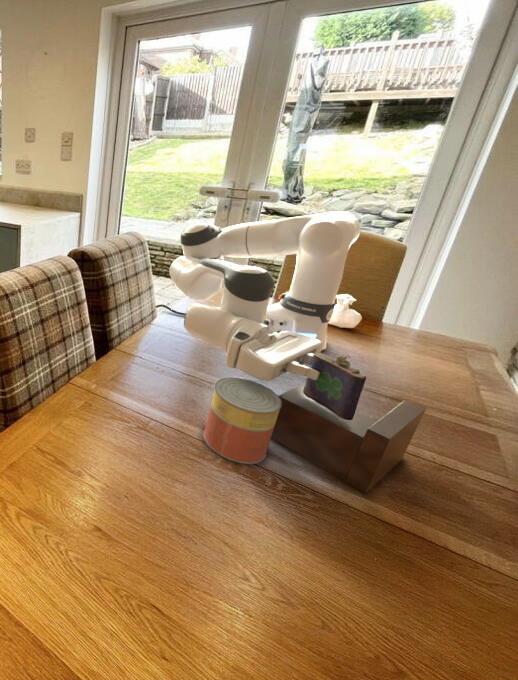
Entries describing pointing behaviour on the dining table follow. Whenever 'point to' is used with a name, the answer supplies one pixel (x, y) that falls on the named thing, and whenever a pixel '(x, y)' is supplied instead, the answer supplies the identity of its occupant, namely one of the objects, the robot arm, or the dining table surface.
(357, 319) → the white tied sack
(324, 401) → the flask
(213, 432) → the canned food
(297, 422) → the l-shaped brown block
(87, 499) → the dining table surface
